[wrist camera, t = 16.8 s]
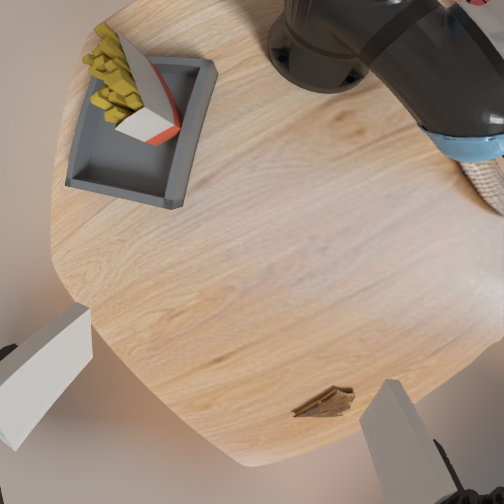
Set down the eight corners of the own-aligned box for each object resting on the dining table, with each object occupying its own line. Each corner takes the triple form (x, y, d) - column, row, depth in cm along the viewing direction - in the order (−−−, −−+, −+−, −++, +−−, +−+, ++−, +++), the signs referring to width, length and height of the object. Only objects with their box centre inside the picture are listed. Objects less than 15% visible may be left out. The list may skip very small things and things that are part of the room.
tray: (114, 68, 32) (99, 58, 27) (218, 74, 32) (212, 60, 28) (83, 184, 37) (64, 185, 32) (182, 206, 37) (171, 209, 32)
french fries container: (160, 149, 34) (84, 128, 17) (136, 89, 32) (64, 45, 15) (189, 134, 34) (129, 97, 16) (163, 74, 32) (102, 16, 14)
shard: (292, 412, 46) (293, 418, 45) (300, 384, 45) (301, 391, 43) (344, 411, 46) (346, 417, 44) (355, 385, 44) (358, 390, 43)
